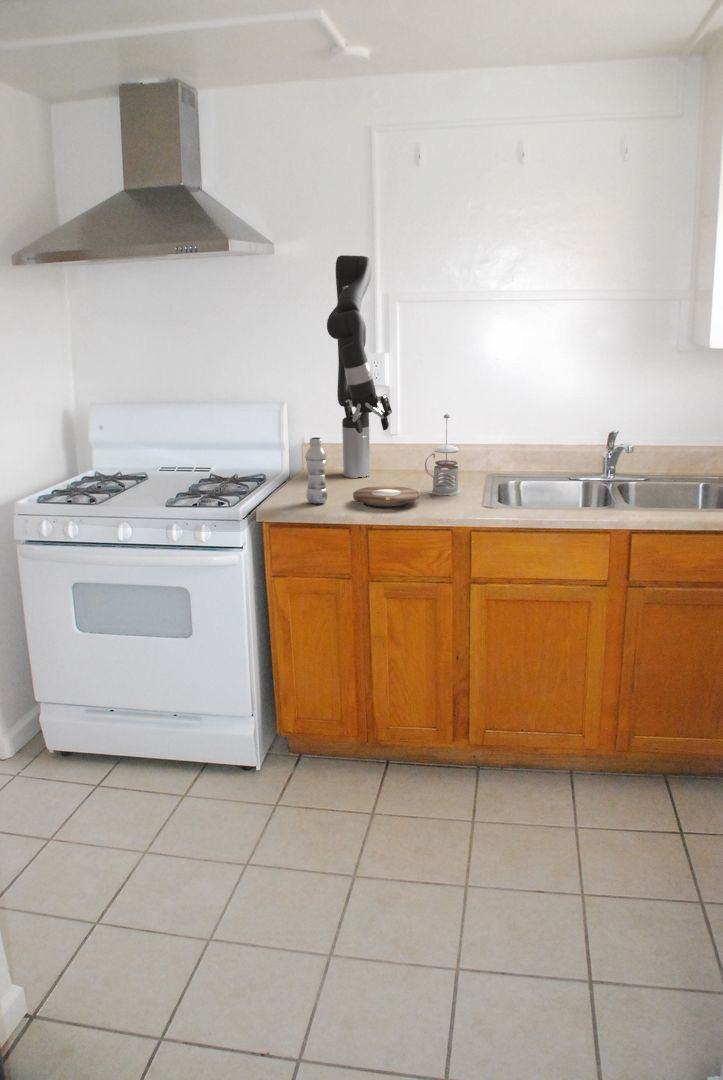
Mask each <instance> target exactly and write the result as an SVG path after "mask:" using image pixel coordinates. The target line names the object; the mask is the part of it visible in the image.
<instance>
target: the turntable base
mask: <svg viewBox="0 0 723 1080" xmlns="http://www.w3.org/2000/svg"><path fill="white" fill-rule="evenodd" d="M362 504H363V506H365V507H367V508H371V509H377V510H392V509H394V510H395V508H396V509H401V508H405V507H407V505H408V506H409V505H410V503H405V504H396V505H375V504H367V503H362Z"/></svg>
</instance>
